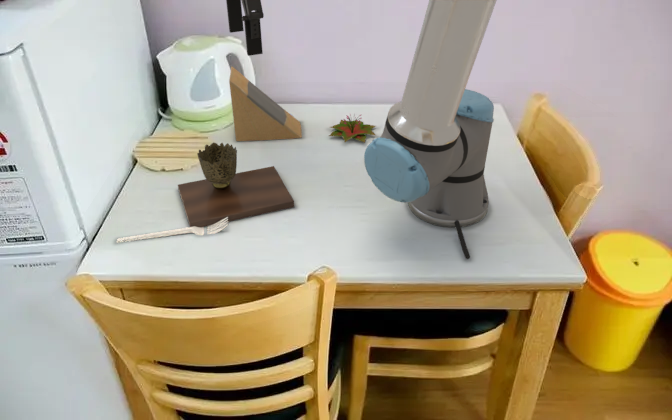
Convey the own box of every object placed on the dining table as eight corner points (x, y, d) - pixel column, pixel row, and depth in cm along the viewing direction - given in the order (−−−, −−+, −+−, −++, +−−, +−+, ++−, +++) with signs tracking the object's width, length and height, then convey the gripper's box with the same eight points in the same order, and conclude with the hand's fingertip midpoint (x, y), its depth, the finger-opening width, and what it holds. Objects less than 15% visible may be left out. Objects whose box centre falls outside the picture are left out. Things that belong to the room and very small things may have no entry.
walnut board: (294, 207, 115) (294, 200, 115) (190, 229, 110) (189, 223, 109) (274, 171, 126) (273, 165, 125) (178, 190, 120) (177, 184, 119)
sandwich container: (302, 138, 138) (300, 77, 129) (235, 141, 137) (228, 80, 128) (300, 121, 145) (298, 62, 136) (237, 124, 144) (230, 65, 135)
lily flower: (337, 118, 146) (337, 101, 144) (384, 126, 143) (385, 108, 140) (319, 140, 137) (319, 122, 135) (369, 149, 134) (369, 131, 131)
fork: (117, 238, 108) (115, 229, 107) (228, 223, 112) (227, 215, 111) (116, 249, 106) (114, 240, 105) (230, 233, 109) (229, 225, 108)
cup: (224, 200, 115) (219, 164, 110) (195, 190, 118) (189, 154, 113) (248, 182, 120) (244, 147, 115) (219, 172, 123) (214, 138, 118)
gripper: (197, -90, 110) (211, 25, 122) (229, -65, 91) (242, 68, 103) (237, -92, 112) (247, 20, 125) (276, -68, 94) (284, 61, 106)
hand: (245, 42), depth 114 cm, fingers open, 13 cm apart
